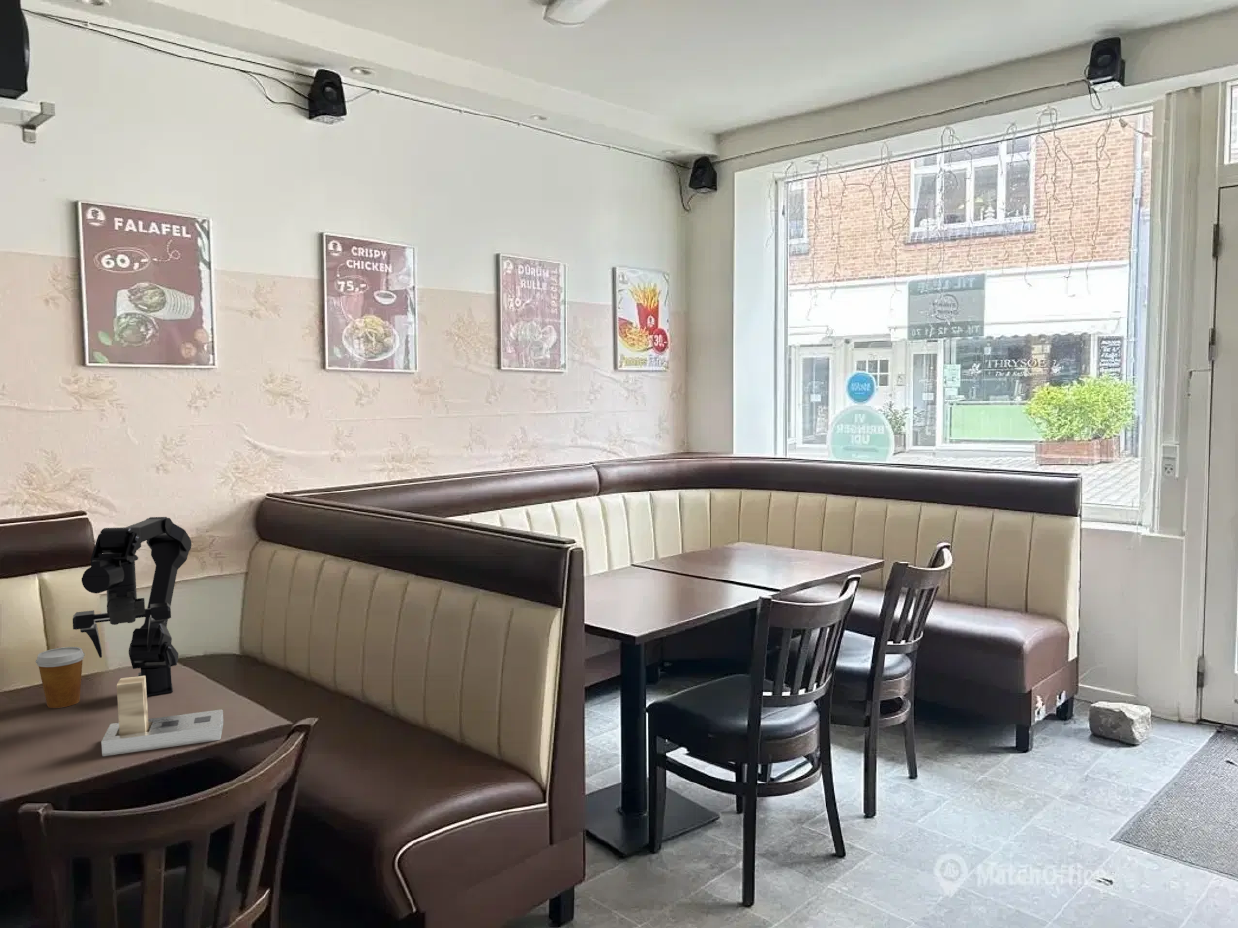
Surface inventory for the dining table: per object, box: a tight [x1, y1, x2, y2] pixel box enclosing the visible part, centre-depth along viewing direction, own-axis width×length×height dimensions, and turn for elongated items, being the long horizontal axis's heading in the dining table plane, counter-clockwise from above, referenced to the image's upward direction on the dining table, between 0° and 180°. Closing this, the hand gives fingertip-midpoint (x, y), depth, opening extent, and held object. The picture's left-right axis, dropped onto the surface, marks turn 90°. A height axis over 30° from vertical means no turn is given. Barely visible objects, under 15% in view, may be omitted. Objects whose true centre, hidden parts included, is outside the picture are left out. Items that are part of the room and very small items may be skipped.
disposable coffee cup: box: [35, 646, 86, 709], centre depth 203 cm, size 10×10×12 cm
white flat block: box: [100, 709, 224, 757], centre depth 181 cm, size 21×10×3 cm, turn 111°
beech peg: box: [116, 675, 149, 736], centre depth 178 cm, size 4×4×13 cm
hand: (124, 654), depth 196 cm, fingers open, 9 cm apart
